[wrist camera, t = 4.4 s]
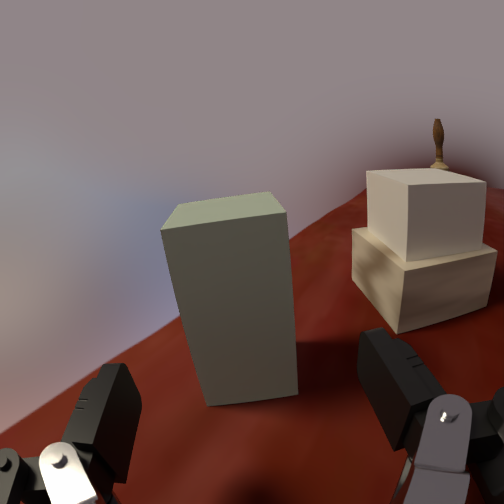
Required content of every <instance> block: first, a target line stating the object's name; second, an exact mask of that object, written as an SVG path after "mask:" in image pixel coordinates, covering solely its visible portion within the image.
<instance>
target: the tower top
mask: <svg viewBox="0 0 504 504" xmlns="http://www.w3.org/2000/svg"><path fill="white" fill-rule="evenodd" d="M366 176H367V206H368V231H369V232H370V233H372V234H373V235H374V236H375V237H377V238H378V239H379V240H380V241H381V242H383V243H384V244H385V245H386V246H387V247H389V248H390V249H391V250H392V251H393V252H394V253H396V254H397V255H398V256H399V257H400V258H401V259H403V260H404V261H405V262H409V261H416V260H422V259H428V258H434V257H440V256H446V255H452V254H457V253H463V252H469V251H474V250H480V249H481V246H482V238H483V229H484V218H485V205H486V184H487V183H486V182H484V181H481V180H477V179H474V178H471V177H467V176H464V175H460V174H456V173H452V172H448V171H445V170H441V169H436V168H430V169H428V168H427V169H397V170H376V171H366Z"/></svg>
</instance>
